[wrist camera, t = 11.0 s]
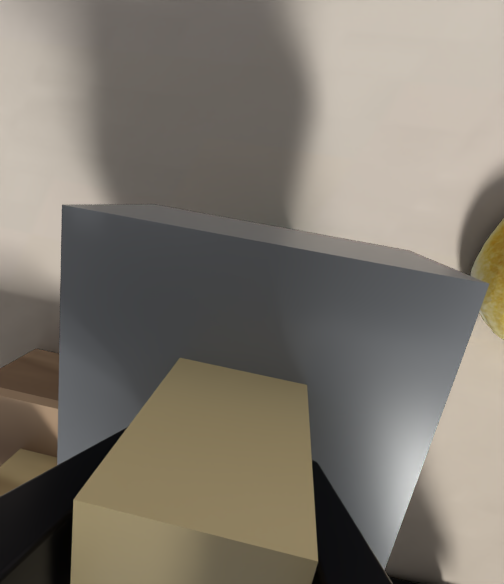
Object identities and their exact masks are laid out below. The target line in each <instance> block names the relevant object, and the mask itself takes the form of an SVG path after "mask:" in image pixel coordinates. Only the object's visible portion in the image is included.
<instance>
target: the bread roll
mask: <svg viewBox="0 0 504 584" xmlns="http://www.w3.org/2000/svg"><path fill="white" fill-rule="evenodd" d="M470 276H472V277H474V278H477V279H479V280H482V281H484V282H486V283H489V286H488V289H487V292H486V295H485V297H484V300H483V303H482V306H481V308H480V311H479V313H480V315H481V316H482V318H483V320H484V321H485V323H486V324H487V325H488V326H489V327H490V328H491V329H492V331H493V333H495V334H496V335H497V336H499V337H500V338H501V339H503V340H504V218H503V219H502V221H501V222H500V223H499V225H498V226H497V227H496V229H495V230H494V231H493V232H492V234H491V235H490V237H489V238H488V239H487V241H486V242H485V243H484V245H483V247H482V249H481V251H480V253H479V254H478V256H477V258H476V260H475V263H474V265H473V267H472V270H471V275H470Z"/></svg>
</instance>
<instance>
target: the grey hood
mask: <svg viewBox="0 0 504 584" xmlns="http://www.w3.org/2000/svg"><path fill="white" fill-rule="evenodd" d="M488 286H489V283H486V282H484V281H482V280H479V279H477V278H474V277H472V276H469V275H467V274H465V273H462V272H460V271H457V270H455V269H453V268H450V267H448V266H445V265H443V264H441V263H438V262H436V261H433V260H431V259H429V258H426V257H424V256H421V255H419V254H416V253H414V252H412V251H409V250H404V249H398V248H393V247H387V246H382V245H376V244H371V243H365V242H360V241H354V240H349V239H343V238H338V237H332V236H327V235H321V234H315V233H310V232H304V231H299V230H293V229H288V228H282V227H277V226H271V225H266V224H260V223H255V222H249V221H244V220H238V219H233V218H227V217H221V216H216V215H210V214H205V213H199V212H194V211H188V210H183V209H177V208H172V207H166V206H161V205H155V204H109V205H62V233H61V287H60V341H59V395H58V449H57V465H58V464H60V463H62V462H64V461H66V460H68V459H69V458H71V457H73V456H75V455H77V454H79V453H80V452H82V451H84V450H86V449H88V448H90V447H92V446H93V445H95V444H97V443H99V442H101V441H103V440H104V439H106V438H108V437H110V436H112V435H114V434H115V433H117V432H119V431H121V430H123V429H125V428H126V427H127V429H126V430H125V431H124V433H123V434H122V435H121V437H120V438H119V439H118V441H117V442H116V443H115V445H114V446H113V447H112V449H111V450H110V451H109V453H108V454H107V455H106V457H105V458H104V459H103V461H102V462H101V463H100V465H99V466H98V467H97V469H96V470H95V471H94V473H93V474H92V475H91V477H90V478H89V479H88V481H87V482H86V483H85V485H84V486H83V487H82V489H81V490H80V491H79V493H78V494H77V495H76V497H75V498H74V499H73V525H72V554H71V582H70V584H312V581H313V577H314V574H315V571H316V567H317V564H318V551H317V535H316V519H315V503H314V487H313V471H312V460H314V461H316V462H317V463H318V464H319V465H320V467H321V469H322V470H323V472H324V473H325V475H326V477H327V478H328V480H329V481H330V483H331V485H332V486H333V488H334V490H335V491H336V493H337V494H338V496H339V498H340V499H341V501H342V502H343V504H344V506H345V507H346V509H347V511H348V512H349V514H350V515H351V517H352V519H353V520H354V522H355V524H356V525H357V527H358V528H359V530H360V532H361V533H362V535H363V536H364V538H365V540H366V541H367V543H368V545H369V546H370V548H371V549H372V551H373V553H374V554H375V556H376V557H377V559H378V561H379V562H380V564H381V566H382V567H383V569H384V570H385V568H386V565H387V562H388V559H389V557H390V554H391V551H392V548H393V546H394V543H395V540H396V538H397V535H398V532H399V529H400V527H401V524H402V521H403V518H404V516H405V513H406V510H407V508H408V505H409V502H410V499H411V497H412V494H413V491H414V488H415V486H416V483H417V480H418V477H419V475H420V472H421V469H422V467H423V464H424V461H425V458H426V456H427V453H428V450H429V447H430V445H431V442H432V439H433V437H434V434H435V431H436V428H437V426H438V423H439V420H440V417H441V415H442V412H443V409H444V407H445V404H446V401H447V398H448V396H449V393H450V390H451V387H452V385H453V382H454V379H455V377H456V374H457V371H458V368H459V366H460V363H461V360H462V357H463V355H464V352H465V349H466V347H467V344H468V341H469V338H470V336H471V333H472V330H473V327H474V325H475V322H476V319H477V317H478V314H479V311H480V308H481V306H482V303H483V300H484V297H485V295H486V292H487V289H488Z"/></svg>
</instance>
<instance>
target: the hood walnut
mask: <svg viewBox="0 0 504 584" xmlns="http://www.w3.org/2000/svg"><path fill="white" fill-rule="evenodd" d="M58 395H59V353H54V352H49V351H45V350H40V349H34V350H33V351H31V352H29V353H27V354H25V355H24V356H22V357H20V358H18V359H17V360H15V361H13V362H11V363H9V364H8V365H6V366H4V367H2V368H0V496H2V495H3V494H5V493H7V492H9V491H11V490H13V489H14V488H16V487H18V486H20V485H22V484H24V483H25V482H27V481H29V480H31V479H33V478H35V477H36V476H38V475H40V474H42V473H44V472H46V471H47V470H49V469H51V468H53V467H55V466H57V449H58Z"/></svg>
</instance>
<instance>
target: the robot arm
mask: <svg viewBox="0 0 504 584" xmlns="http://www.w3.org/2000/svg"><path fill="white" fill-rule="evenodd" d="M126 429H127V427H126V428H125V429H123V430H121V431H119V432H117V433H115V434H114V435H112V436H110V437H108V438H106V439H104V440H103V441H101V442H99V443H97V444H95V445H93V446H92V447H90V448H88V449H86V450H84V451H82V452H80V453H79V454H77V455H75V456H73V457H71V458H69V459H68V460H66V461H64V462H62V463H60V464H58V465H57V466H55V467H53V468H51V469H49V470H47V471H46V472H44V473H42V474H40V475H38V476H36V477H35V478H33V479H31V480H29V481H27V482H25V483H24V484H22V485H20V486H18V487H16V488H14V489H13V490H11V491H9V492H7V493H5V494H3V495H2V496H0V584H70V582H71V554H72V525H73V499H74V498H75V497H76V495H77V494H78V493H79V491H80V490H81V489H82V487H83V486H84V485H85V483H86V482H87V481H88V479H89V478H90V477H91V475H92V474H93V473H94V471H95V470H96V469H97V467H98V466H99V465H100V463H101V462H102V461H103V459H104V458H105V457H106V455H107V454H108V453H109V451H110V450H111V449H112V447H113V446H114V445H115V443H116V442H117V441H118V439H119V438H120V437H121V435H122V434H123V433H124V431H125V430H126ZM312 471H313V487H314V503H315V519H316V535H317V551H318V564H317V567H316V571H315V574H314V577H313V581H312V584H416V583H412V582H408V581H404V580H400V579H396V578H392V577H388V575H387V574H386V572H385V570H384V569H383V567H382V566H381V564H380V562H379V561H378V559H377V557H376V556H375V554H374V553H373V551H372V549H371V548H370V546H369V545H368V543H367V541H366V540H365V538H364V536H363V535H362V533H361V532H360V530H359V528H358V527H357V525H356V524H355V522H354V520H353V519H352V517H351V515H350V514H349V512H348V511H347V509H346V507H345V506H344V504H343V502H342V501H341V499H340V498H339V496H338V494H337V493H336V491H335V490H334V488H333V486H332V485H331V483H330V481H329V480H328V478H327V477H326V475H325V473H324V472H323V470H322V469H321V467H320V465H319V464H318V463H317V462H316V461H314V460H312Z"/></svg>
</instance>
